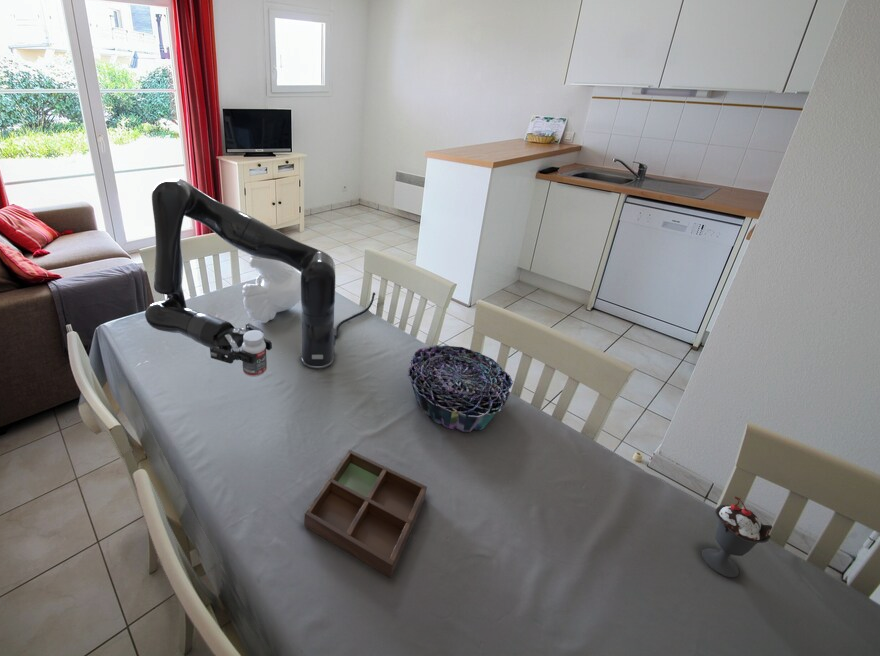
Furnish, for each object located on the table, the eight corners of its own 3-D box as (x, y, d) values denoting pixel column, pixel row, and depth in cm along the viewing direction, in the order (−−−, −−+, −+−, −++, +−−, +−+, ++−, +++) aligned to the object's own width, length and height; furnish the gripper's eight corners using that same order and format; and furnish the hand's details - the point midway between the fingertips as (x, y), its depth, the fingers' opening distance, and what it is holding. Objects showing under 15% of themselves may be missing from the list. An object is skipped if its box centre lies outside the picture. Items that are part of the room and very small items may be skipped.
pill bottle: (262, 379, 101) (260, 344, 97) (239, 375, 102) (236, 340, 98) (270, 364, 106) (268, 330, 102) (248, 361, 107) (246, 327, 103)
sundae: (685, 545, 78) (715, 485, 72) (719, 542, 78) (751, 483, 73) (719, 584, 72) (754, 523, 66) (755, 581, 72) (794, 520, 67)
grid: (348, 460, 94) (349, 449, 93) (425, 498, 86) (427, 486, 84) (304, 526, 80) (304, 513, 79) (390, 578, 72) (392, 565, 70)
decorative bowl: (504, 387, 120) (510, 356, 117) (510, 456, 95) (518, 419, 92) (413, 367, 128) (416, 337, 125) (396, 426, 103) (400, 391, 100)
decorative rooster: (289, 275, 166) (249, 234, 151) (317, 280, 155) (277, 237, 140) (254, 330, 157) (207, 293, 142) (282, 340, 146) (234, 301, 131)
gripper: (186, 331, 101) (240, 354, 93) (229, 306, 112) (280, 325, 105) (189, 357, 104) (242, 382, 96) (231, 330, 115) (281, 351, 107)
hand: (262, 352), depth 100 cm, fingers closed on pill bottle, 5 cm apart
